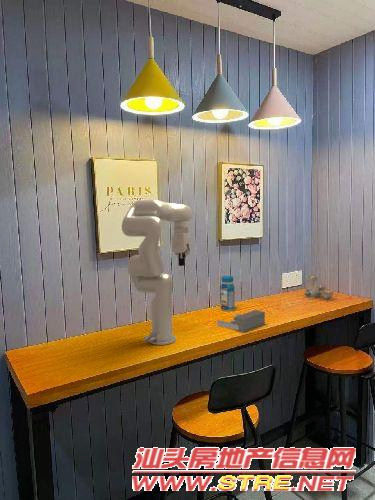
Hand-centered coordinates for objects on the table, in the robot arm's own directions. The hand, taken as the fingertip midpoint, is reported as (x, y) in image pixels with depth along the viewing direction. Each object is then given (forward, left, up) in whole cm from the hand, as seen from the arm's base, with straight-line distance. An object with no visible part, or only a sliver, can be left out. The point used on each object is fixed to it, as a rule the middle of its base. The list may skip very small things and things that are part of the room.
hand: (181, 265), depth 197 cm
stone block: (+16, -27, -31) cm, 44 cm away
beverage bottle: (+35, -2, -31) cm, 47 cm away
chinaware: (+98, -27, -31) cm, 106 cm away
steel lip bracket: (+15, -26, -31) cm, 43 cm away
